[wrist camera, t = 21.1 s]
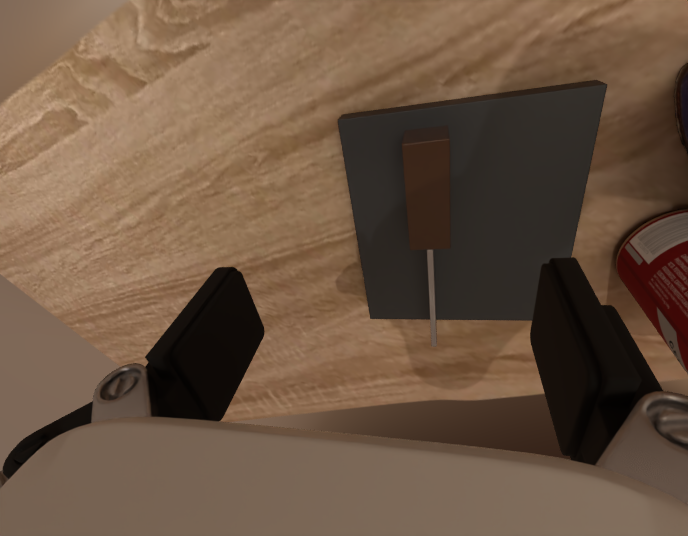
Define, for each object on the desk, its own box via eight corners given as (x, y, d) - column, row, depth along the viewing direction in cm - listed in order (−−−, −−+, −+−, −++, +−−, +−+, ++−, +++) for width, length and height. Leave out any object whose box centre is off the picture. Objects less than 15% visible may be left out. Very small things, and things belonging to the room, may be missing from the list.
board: (342, 114, 24) (337, 119, 23) (597, 79, 21) (607, 83, 19) (372, 308, 34) (370, 319, 32) (552, 308, 30) (558, 321, 29)
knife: (404, 130, 23) (401, 144, 20) (448, 124, 22) (449, 138, 20) (418, 320, 31) (417, 346, 29) (449, 320, 31) (451, 347, 28)
